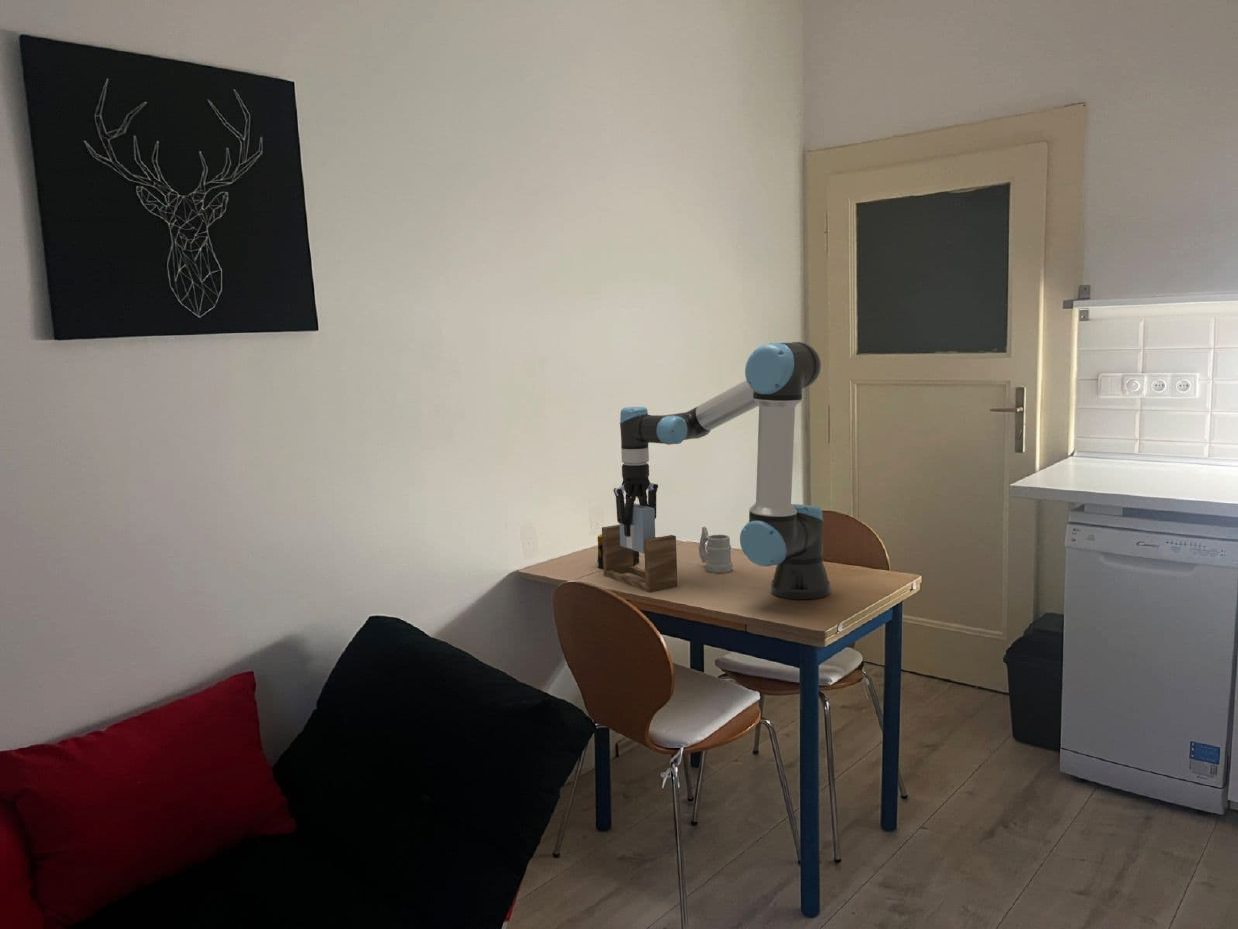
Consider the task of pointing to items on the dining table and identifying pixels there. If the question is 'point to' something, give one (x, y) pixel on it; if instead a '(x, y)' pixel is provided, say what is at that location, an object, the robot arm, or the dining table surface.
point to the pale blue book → (640, 527)
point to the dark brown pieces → (600, 554)
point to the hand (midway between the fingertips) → (637, 546)
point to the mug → (715, 552)
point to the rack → (657, 561)
